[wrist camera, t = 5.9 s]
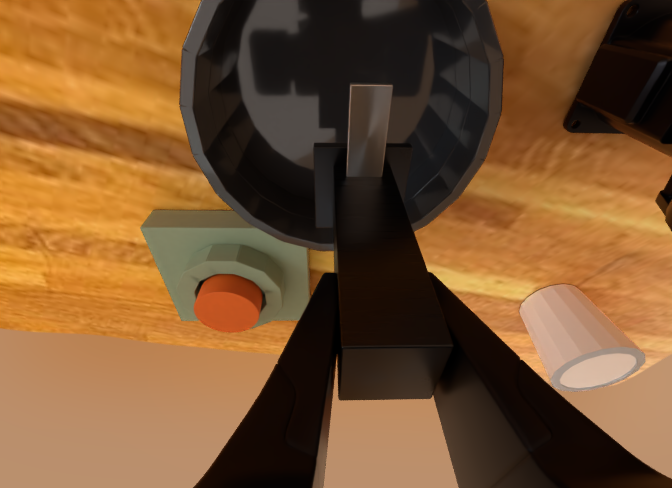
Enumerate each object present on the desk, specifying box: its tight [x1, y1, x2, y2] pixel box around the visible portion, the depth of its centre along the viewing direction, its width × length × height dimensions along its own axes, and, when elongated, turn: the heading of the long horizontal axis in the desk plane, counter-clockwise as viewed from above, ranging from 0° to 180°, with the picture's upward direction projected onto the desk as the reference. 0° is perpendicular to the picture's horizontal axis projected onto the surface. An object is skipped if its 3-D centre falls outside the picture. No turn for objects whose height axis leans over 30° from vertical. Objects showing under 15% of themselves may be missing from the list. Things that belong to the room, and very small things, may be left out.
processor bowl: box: [179, 0, 504, 251], centre depth 17 cm, size 14×14×5 cm
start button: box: [194, 274, 263, 332], centre depth 23 cm, size 4×4×2 cm
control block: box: [141, 210, 310, 329], centre depth 25 cm, size 11×10×4 cm
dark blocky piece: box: [313, 83, 454, 400], centre depth 11 cm, size 9×4×9 cm, turn 179°
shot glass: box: [519, 284, 645, 392], centre depth 28 cm, size 7×7×7 cm
